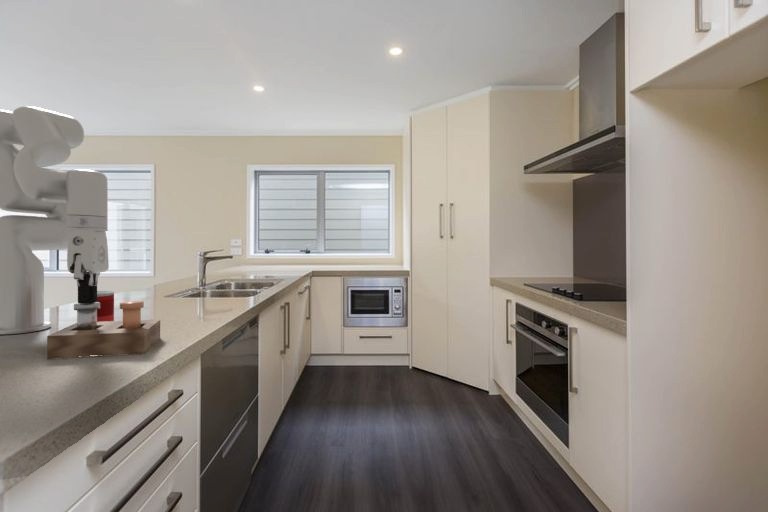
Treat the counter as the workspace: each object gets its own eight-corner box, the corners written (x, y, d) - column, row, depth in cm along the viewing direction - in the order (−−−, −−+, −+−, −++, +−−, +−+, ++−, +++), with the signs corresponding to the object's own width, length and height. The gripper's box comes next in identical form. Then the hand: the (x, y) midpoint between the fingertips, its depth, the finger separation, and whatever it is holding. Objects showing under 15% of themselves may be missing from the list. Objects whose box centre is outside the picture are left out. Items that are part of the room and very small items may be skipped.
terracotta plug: (116, 335, 87) (116, 304, 87) (123, 330, 91) (123, 301, 91) (140, 334, 88) (140, 304, 88) (146, 329, 93) (146, 300, 93)
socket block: (47, 359, 79) (47, 336, 79) (77, 342, 92) (77, 322, 92) (144, 353, 85) (144, 331, 85) (160, 338, 98) (160, 319, 98)
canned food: (120, 329, 106) (120, 291, 106) (96, 336, 98) (96, 295, 98) (96, 328, 107) (96, 290, 107) (70, 334, 99) (70, 293, 99)
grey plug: (69, 337, 84) (69, 305, 84) (79, 332, 88) (79, 302, 88) (95, 336, 85) (95, 304, 85) (103, 331, 90) (103, 301, 90)
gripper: (93, 223, 80) (93, 307, 81) (118, 226, 94) (118, 298, 95) (50, 222, 78) (50, 308, 78) (82, 225, 92) (82, 298, 93)
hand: (87, 302), depth 87 cm, fingers closed
